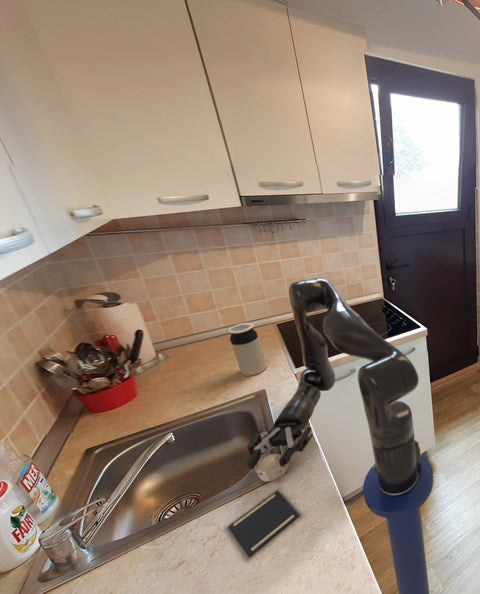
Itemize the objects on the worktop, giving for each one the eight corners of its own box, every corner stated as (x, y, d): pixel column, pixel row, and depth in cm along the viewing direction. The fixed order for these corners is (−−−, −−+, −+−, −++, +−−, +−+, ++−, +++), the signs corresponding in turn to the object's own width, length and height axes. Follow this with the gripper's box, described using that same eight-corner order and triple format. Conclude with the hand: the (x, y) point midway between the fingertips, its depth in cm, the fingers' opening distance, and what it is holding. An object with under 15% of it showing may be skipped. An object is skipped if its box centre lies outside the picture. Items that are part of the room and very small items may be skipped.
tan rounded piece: (264, 492, 77) (254, 468, 74) (256, 475, 81) (247, 451, 78) (294, 474, 81) (286, 450, 78) (285, 459, 86) (278, 436, 82)
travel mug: (264, 373, 120) (251, 330, 113) (238, 378, 118) (223, 334, 111) (268, 362, 127) (256, 320, 120) (245, 366, 125) (231, 324, 118)
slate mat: (277, 491, 77) (276, 490, 77) (299, 516, 72) (299, 514, 72) (228, 527, 70) (227, 526, 70) (249, 557, 64) (248, 556, 64)
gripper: (265, 406, 90) (228, 456, 75) (319, 402, 91) (294, 451, 76) (272, 427, 93) (238, 479, 78) (324, 423, 94) (301, 474, 79)
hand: (265, 465), depth 77 cm, fingers closed on tan rounded piece, 6 cm apart
